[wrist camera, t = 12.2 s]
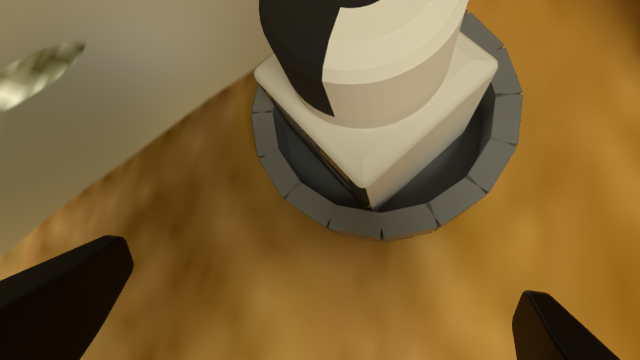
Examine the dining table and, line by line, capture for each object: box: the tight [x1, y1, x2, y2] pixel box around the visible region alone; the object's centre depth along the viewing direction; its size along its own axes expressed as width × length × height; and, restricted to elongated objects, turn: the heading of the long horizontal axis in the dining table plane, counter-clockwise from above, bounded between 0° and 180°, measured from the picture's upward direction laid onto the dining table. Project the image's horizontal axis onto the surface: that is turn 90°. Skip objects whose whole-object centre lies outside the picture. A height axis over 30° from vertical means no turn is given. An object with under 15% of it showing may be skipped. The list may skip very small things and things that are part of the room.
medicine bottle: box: [254, 0, 498, 212], centre depth 15 cm, size 7×7×12 cm
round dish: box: [251, 10, 523, 242], centre depth 20 cm, size 14×14×3 cm
